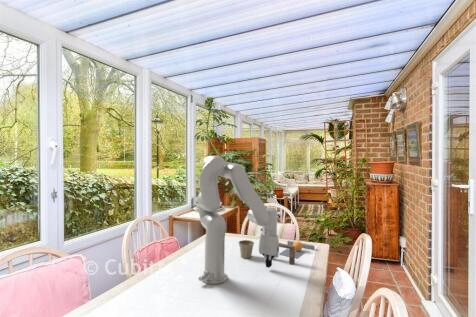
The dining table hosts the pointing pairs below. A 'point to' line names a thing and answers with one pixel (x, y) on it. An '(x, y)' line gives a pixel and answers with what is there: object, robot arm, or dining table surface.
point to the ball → (297, 246)
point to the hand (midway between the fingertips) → (268, 266)
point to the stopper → (302, 245)
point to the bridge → (291, 252)
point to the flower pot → (246, 248)
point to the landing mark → (286, 253)
